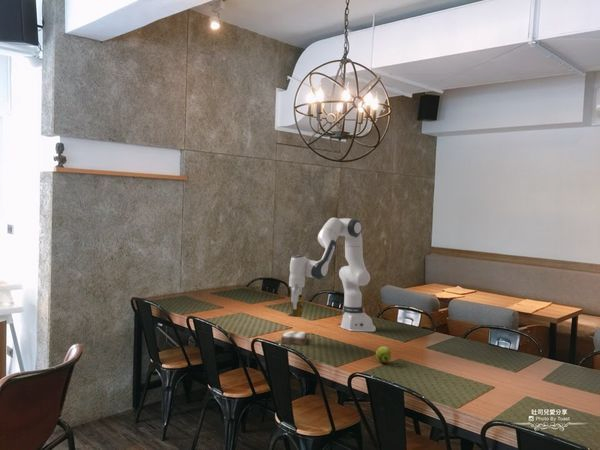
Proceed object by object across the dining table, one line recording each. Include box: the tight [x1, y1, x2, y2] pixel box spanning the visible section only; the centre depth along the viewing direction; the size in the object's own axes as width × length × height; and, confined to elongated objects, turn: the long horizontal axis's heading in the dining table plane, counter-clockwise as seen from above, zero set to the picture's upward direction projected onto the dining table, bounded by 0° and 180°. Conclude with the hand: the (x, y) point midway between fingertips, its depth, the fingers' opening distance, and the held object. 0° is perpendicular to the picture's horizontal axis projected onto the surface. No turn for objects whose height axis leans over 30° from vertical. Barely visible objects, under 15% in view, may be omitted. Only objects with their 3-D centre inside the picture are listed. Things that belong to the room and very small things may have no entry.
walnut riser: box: [280, 330, 308, 346], centre depth 284 cm, size 13×13×4 cm
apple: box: [375, 345, 392, 364], centre depth 253 cm, size 8×9×8 cm
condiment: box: [285, 294, 305, 318], centre depth 283 cm, size 7×8×12 cm
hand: (295, 307), depth 283 cm, fingers closed on condiment, 6 cm apart
